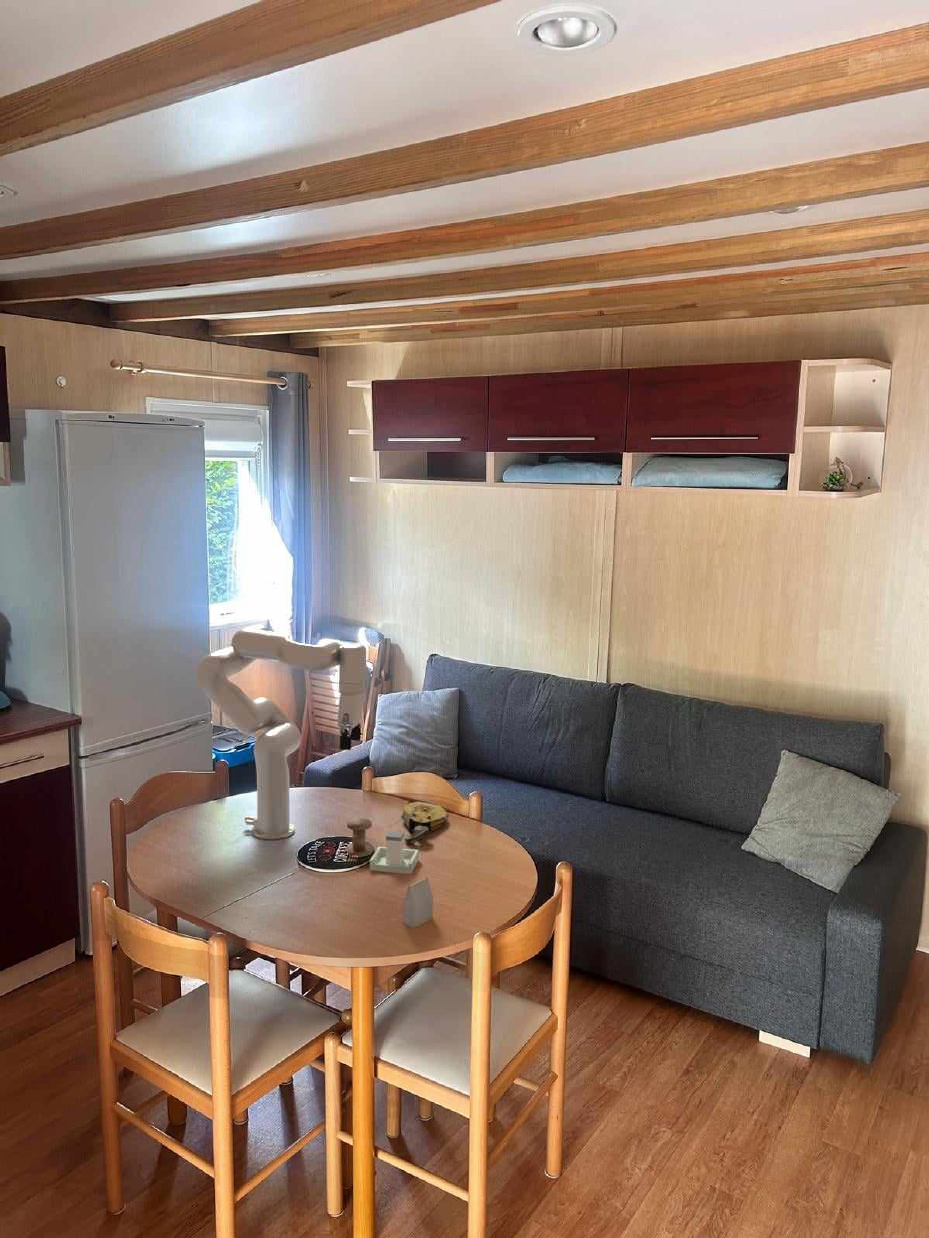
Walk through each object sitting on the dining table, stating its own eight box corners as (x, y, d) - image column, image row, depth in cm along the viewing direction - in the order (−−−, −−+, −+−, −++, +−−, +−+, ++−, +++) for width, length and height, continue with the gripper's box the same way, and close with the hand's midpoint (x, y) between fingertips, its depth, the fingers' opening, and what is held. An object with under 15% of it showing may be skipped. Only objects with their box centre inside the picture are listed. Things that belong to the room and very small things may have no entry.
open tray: (369, 870, 259) (370, 859, 259) (378, 856, 269) (378, 846, 268) (411, 874, 258) (411, 863, 257) (418, 860, 267) (418, 850, 267)
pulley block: (391, 825, 276) (408, 791, 305) (387, 843, 277) (405, 808, 306) (438, 835, 274) (451, 801, 304) (434, 854, 275) (448, 817, 305)
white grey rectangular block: (385, 864, 261) (385, 836, 260) (389, 858, 265) (389, 830, 264) (400, 865, 261) (400, 837, 259) (403, 859, 265) (404, 831, 263)
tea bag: (432, 917, 233) (433, 879, 231) (413, 927, 228) (414, 888, 226) (421, 913, 235) (422, 875, 234) (402, 922, 230) (403, 883, 229)
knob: (341, 856, 268) (341, 826, 267) (349, 845, 276) (349, 816, 274) (368, 858, 267) (369, 828, 265) (375, 848, 275) (376, 818, 273)
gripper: (348, 679, 280) (346, 735, 283) (330, 692, 263) (328, 751, 266) (372, 681, 279) (370, 737, 282) (356, 695, 262) (354, 754, 265)
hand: (350, 744), depth 274 cm, fingers open, 9 cm apart
